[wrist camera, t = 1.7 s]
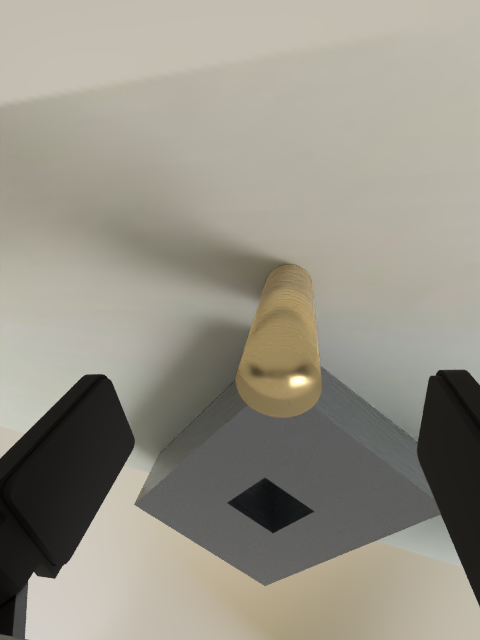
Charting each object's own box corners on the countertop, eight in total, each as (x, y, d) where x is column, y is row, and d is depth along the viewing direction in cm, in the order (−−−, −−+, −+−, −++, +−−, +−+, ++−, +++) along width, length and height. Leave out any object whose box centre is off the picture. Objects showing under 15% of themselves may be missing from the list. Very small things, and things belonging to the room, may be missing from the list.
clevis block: (421, 445, 23) (449, 510, 19) (270, 527, 31) (264, 585, 27) (281, 335, 21) (276, 379, 17) (159, 453, 29) (134, 504, 25)
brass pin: (322, 284, 19) (341, 385, 10) (290, 316, 20) (282, 430, 11) (286, 254, 18) (272, 331, 10) (255, 289, 20) (219, 384, 11)
